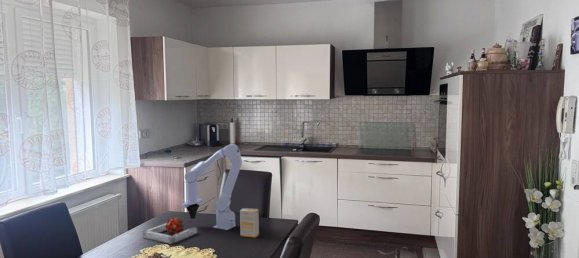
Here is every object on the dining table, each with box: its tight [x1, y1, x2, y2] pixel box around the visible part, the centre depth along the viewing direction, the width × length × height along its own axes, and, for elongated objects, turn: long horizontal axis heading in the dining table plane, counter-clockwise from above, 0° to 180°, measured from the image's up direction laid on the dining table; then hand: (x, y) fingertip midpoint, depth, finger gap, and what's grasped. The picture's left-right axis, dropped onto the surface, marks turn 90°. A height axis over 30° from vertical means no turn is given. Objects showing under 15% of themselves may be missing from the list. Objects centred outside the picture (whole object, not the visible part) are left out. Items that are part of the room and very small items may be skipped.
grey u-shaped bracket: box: [142, 222, 198, 245], centre depth 190 cm, size 19×17×3 cm
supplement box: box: [239, 207, 260, 239], centre depth 189 cm, size 8×5×13 cm, turn 71°
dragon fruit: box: [165, 217, 185, 236], centre depth 192 cm, size 8×8×12 cm
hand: (192, 218), depth 204 cm, fingers closed
